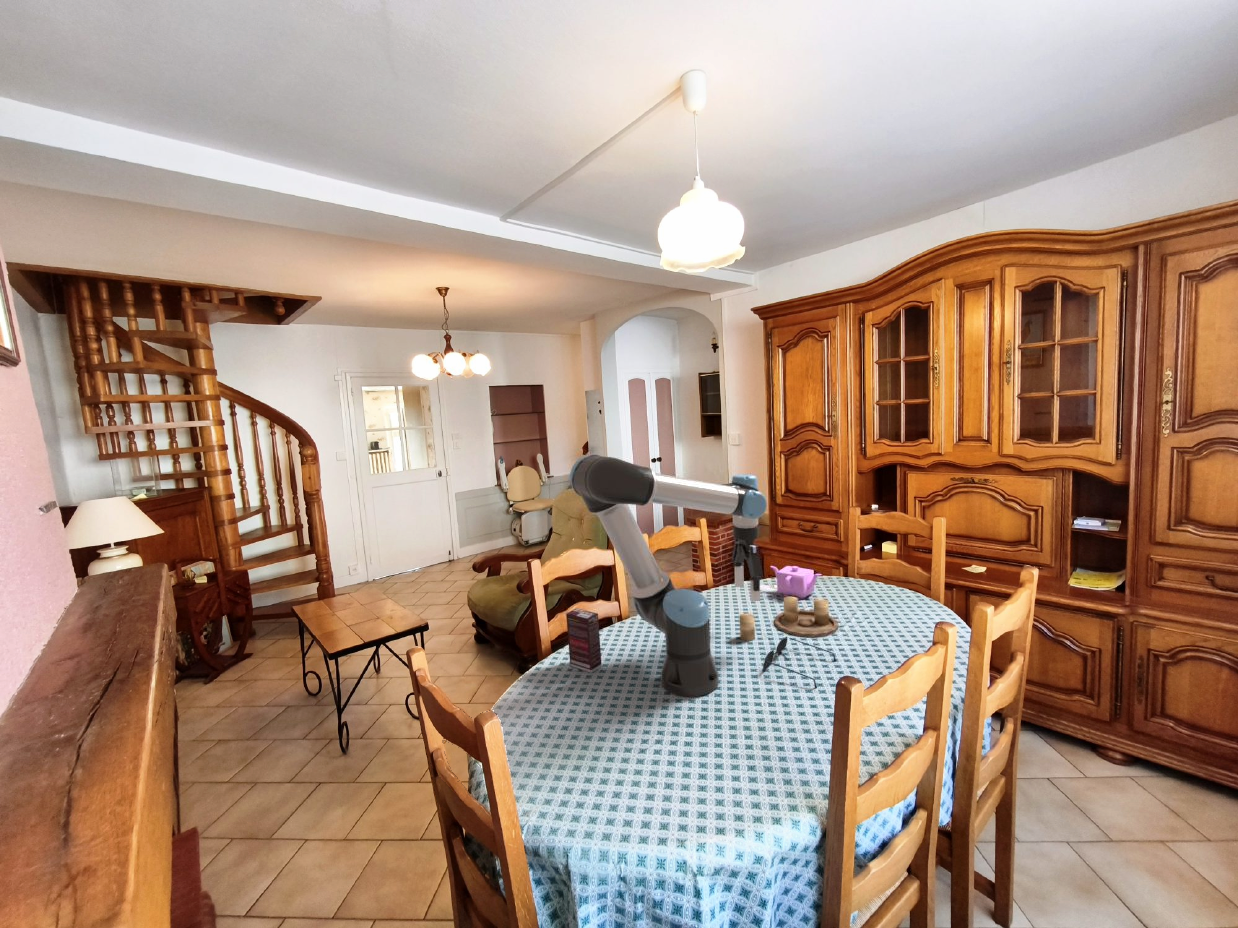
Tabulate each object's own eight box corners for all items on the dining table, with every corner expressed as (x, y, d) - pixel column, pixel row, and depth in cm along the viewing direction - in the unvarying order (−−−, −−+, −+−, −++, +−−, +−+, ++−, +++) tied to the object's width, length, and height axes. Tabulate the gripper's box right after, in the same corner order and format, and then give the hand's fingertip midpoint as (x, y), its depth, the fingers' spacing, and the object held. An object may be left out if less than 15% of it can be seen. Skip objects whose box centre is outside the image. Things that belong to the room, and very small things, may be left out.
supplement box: (602, 666, 152) (599, 612, 150) (591, 673, 148) (587, 618, 146) (580, 659, 157) (576, 607, 156) (569, 665, 153) (565, 613, 152)
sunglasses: (784, 650, 156) (786, 634, 155) (836, 668, 147) (838, 652, 146) (760, 675, 142) (762, 658, 141) (816, 697, 133) (818, 679, 133)
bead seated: (831, 624, 168) (831, 603, 167) (818, 625, 168) (817, 604, 167) (824, 619, 172) (824, 598, 172) (811, 620, 172) (811, 599, 171)
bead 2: (789, 615, 177) (789, 595, 176) (801, 619, 174) (800, 598, 173) (781, 619, 174) (780, 598, 174) (793, 623, 171) (792, 602, 170)
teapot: (780, 602, 191) (779, 573, 190) (770, 590, 205) (769, 562, 204) (822, 600, 191) (822, 571, 190) (810, 588, 204) (809, 560, 203)
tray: (850, 635, 161) (849, 629, 161) (789, 642, 159) (789, 635, 159) (820, 612, 180) (820, 607, 180) (766, 618, 178) (765, 612, 178)
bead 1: (757, 640, 162) (756, 618, 162) (743, 641, 162) (742, 619, 161) (752, 634, 167) (751, 612, 166) (738, 635, 166) (737, 614, 166)
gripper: (774, 533, 149) (775, 606, 151) (743, 517, 174) (744, 580, 176) (748, 535, 149) (750, 608, 150) (721, 518, 173) (722, 581, 175)
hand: (747, 593), depth 163 cm, fingers open, 13 cm apart
